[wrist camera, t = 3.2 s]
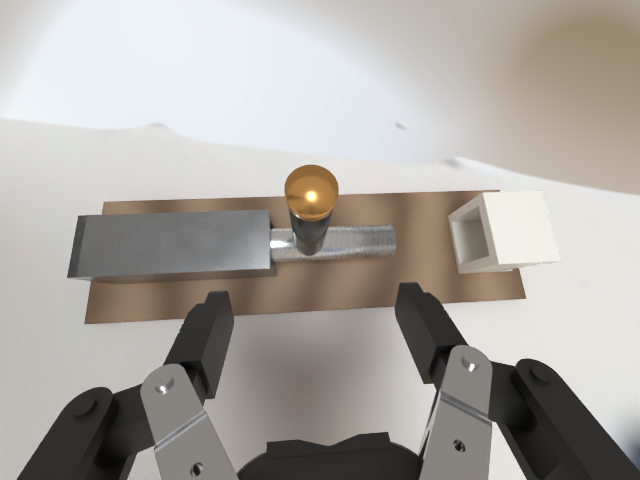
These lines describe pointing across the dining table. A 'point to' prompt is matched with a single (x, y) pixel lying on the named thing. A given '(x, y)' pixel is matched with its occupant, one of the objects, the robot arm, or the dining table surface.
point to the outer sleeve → (172, 247)
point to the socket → (503, 232)
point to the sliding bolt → (323, 224)
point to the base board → (318, 263)
